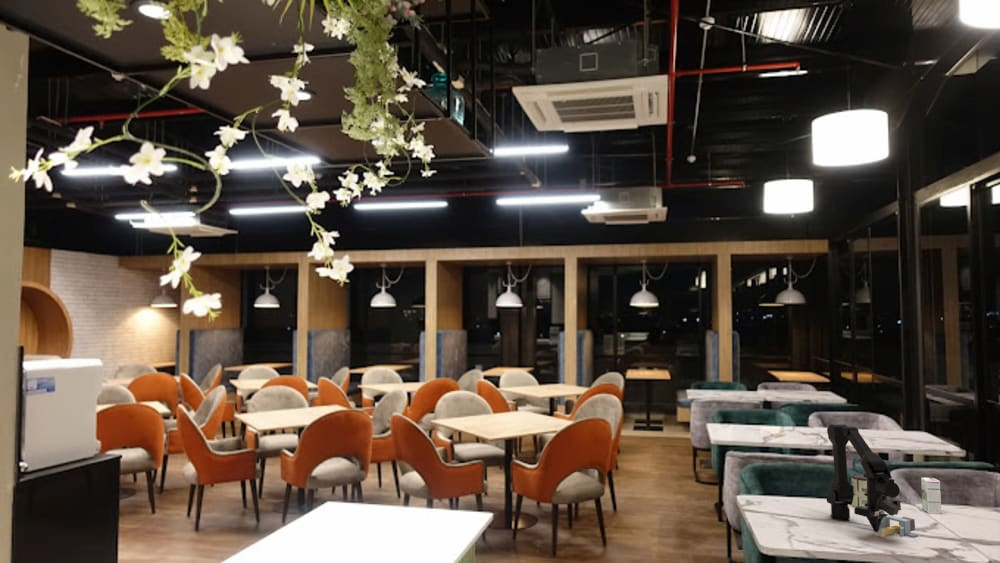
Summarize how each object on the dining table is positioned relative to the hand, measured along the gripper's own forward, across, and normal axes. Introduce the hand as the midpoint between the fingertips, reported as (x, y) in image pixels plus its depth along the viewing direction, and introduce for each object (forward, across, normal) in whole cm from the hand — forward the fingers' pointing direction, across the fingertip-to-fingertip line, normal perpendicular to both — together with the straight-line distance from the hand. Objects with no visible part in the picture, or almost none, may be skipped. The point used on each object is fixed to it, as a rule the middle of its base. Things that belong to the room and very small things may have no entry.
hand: (876, 531), depth 258 cm
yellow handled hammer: (+1, +12, 0) cm, 12 cm away
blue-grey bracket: (+2, +12, 0) cm, 12 cm away
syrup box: (+1, +57, +9) cm, 58 cm away
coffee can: (+1, +36, +27) cm, 45 cm away
